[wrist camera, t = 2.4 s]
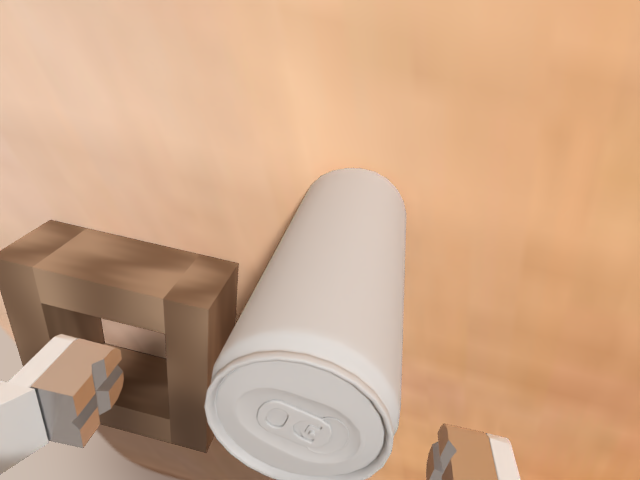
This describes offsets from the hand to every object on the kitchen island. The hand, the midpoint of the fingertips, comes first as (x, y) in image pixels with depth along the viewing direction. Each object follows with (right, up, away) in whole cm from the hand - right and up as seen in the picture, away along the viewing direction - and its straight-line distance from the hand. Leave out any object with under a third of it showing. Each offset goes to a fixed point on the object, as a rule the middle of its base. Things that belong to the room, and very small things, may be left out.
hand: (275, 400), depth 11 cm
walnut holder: (-9, -1, +16) cm, 18 cm away
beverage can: (+3, +5, +10) cm, 12 cm away
